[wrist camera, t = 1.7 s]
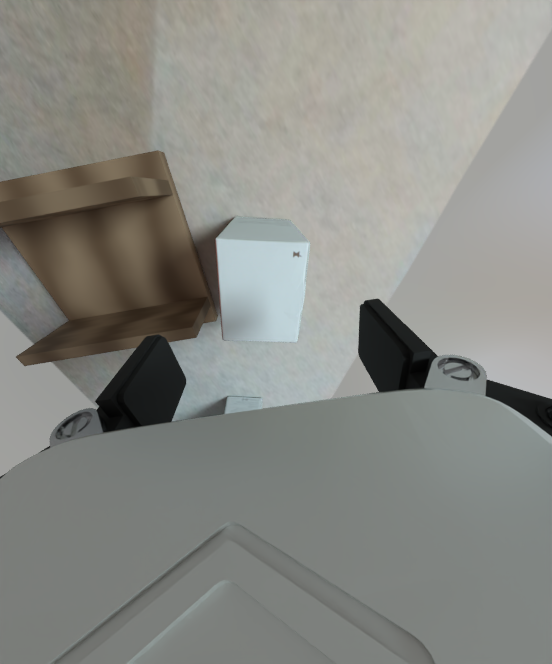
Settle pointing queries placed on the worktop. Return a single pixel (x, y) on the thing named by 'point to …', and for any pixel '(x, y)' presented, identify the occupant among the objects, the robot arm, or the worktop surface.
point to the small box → (261, 279)
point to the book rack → (108, 255)
